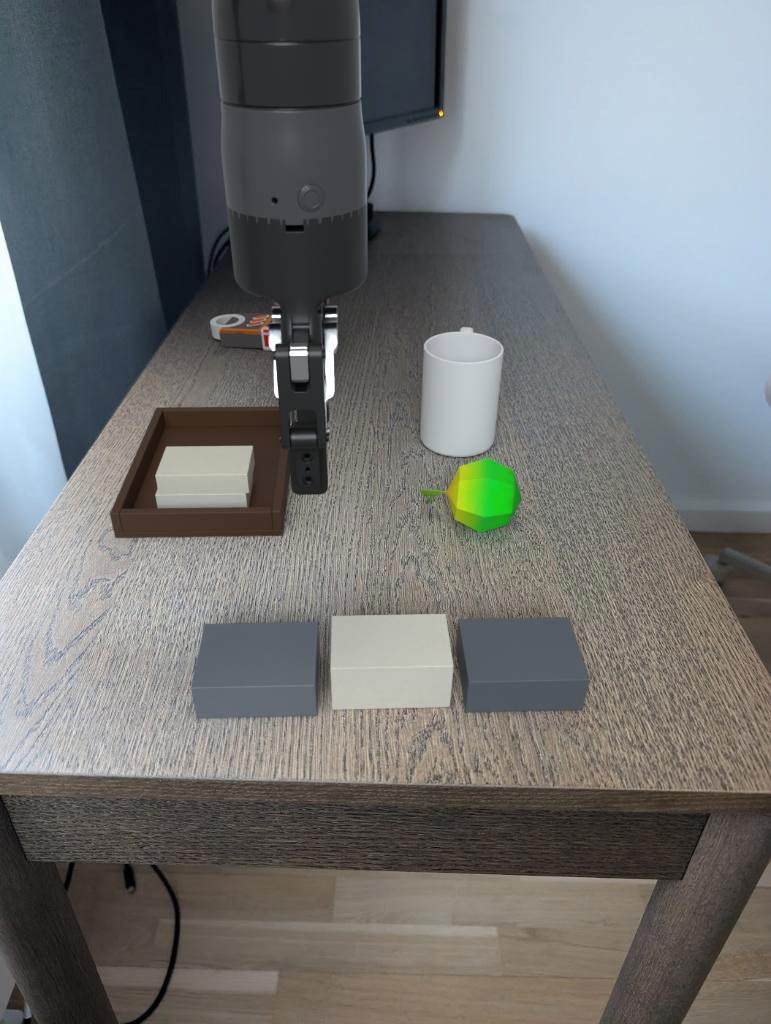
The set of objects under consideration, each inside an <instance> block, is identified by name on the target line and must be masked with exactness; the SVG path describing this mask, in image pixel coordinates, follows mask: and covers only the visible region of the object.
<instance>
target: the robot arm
mask: <svg viewBox="0 0 771 1024" xmlns="http://www.w3.org/2000/svg"><path fill="white" fill-rule="evenodd" d="M211 21H212V35H213V37H214V38H213V41H214V42H213V43H214V53H215V61H216V71H217V81H218V91H219V99H220V100H221V101H220V159H221V167H222V168H221V169H222V177H223V185H224V195H225V204H226V205H225V206H226V214H227V224H228V231H229V242H230V251H231V259H232V270H233V277H234V280H235V282H236V284H237V285H238V286H239V288H240V289H241V290H243V291H244V292H246V293H247V294H249V295H251V296H254V297H256V298H260V299H262V298H265V299H267V300H270V301H272V302H273V301H275V302H276V303H278V304H279V305H280V306H273V305H272V306H271V314H272V322H270V323H269V325H268V334H269V347H270V349H271V353H272V361H273V394H274V396H275V398H276V400H277V402H278V407H279V415H280V428H281V434H279V442H280V443H282V449H288V452H289V465H290V477H289V478H290V488H291V492H292V493H294V494H295V495H297V496H311V495H313V496H314V495H315V496H316V495H317V496H318V495H324V494H326V493H327V491H328V490H329V474H328V473H329V471H328V469H329V468H328V451H327V449H328V443H330V436H331V429H330V426H328V423H329V422H330V403H331V402H333V401H334V399H335V397H336V381H335V380H336V378H335V376H336V375H335V372H336V371H335V356H336V354H337V353H338V350H339V314H338V313H339V311H338V309H339V308H338V305H328V306H327V299H329V300H330V299H331V298H334V297H338V298H340V297H343V296H346V295H348V294H351V293H352V292H354V291H356V290H358V289H359V288H360V287H361V286H362V285H363V284H364V283H365V281H366V280H367V277H368V273H369V260H368V259H369V253H368V250H369V249H368V248H369V247H368V245H369V244H368V156H367V151H368V150H367V140H366V133H365V132H366V131H365V126H364V125H365V124H364V119H363V108H362V107H363V106H362V105H363V104H362V100H361V98H362V38H361V36H362V34H361V13H360V1H359V0H211ZM324 371H325V373H324ZM293 411H294V412H296V421H295V422H293Z"/></svg>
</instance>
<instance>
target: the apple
mask: <svg viewBox="0 0 771 1024" xmlns="http://www.w3.org/2000/svg"><path fill="white" fill-rule="evenodd" d="M420 491H421V493H422V495H423V497H425V498H426V497H428V499H427V500H426V501H425V504H427V505H429V503H430V502H431V499H433V498H435V497H437V496H439V495H444V494H446V497H447V499H448V502H449V503H448V504H449V506H450V509H451V512H452V516H453V518H454V521H457V522H459V523H460V524H462V525H464V526H466V527H468V528H470V529H472V530H474V531H476V532H478V533H480V534H481V533H484V532H487V531H492V530H496V529H499V528H502V527H504V526H507V525H509V524H510V522H511V520H512V518H513V517H514V515H515V513H516V511H517V509H518V507H519V505H520V503H521V502H522V500H523V497H522V495H521V491H520V487H519V484H518V481H517V478H516V474H515V471H514V470H513V469H510V468H509V467H507V466H505V465H503V464H501V463H499V462H497V461H496V460H493V459H491V458H489V457H486V458H482V459H479V460H476V461H473V462H470V463H466V464H462V465H459V467H458V469H457V471H456V473H455V474H454V476H453V478H452V480H451V482H450V484H449V486H448V487H447V490H441V488H439V487H437V488H436V489H426V488H420Z"/></svg>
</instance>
